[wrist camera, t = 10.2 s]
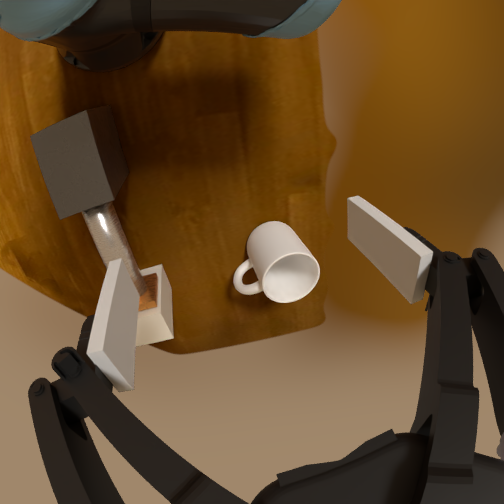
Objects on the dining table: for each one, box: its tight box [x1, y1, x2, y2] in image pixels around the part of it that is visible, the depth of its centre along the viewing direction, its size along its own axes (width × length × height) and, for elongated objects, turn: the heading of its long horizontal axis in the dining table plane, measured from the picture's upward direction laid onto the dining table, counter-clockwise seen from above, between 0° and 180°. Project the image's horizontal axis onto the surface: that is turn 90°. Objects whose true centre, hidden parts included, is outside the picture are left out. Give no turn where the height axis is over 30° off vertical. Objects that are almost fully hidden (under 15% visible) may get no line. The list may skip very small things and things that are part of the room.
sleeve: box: [30, 105, 129, 219], centre depth 30 cm, size 10×7×11 cm
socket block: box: [136, 264, 174, 347], centre depth 42 cm, size 5×7×12 cm
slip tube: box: [81, 201, 158, 311], centre depth 35 cm, size 20×6×6 cm, turn 10°
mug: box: [233, 221, 320, 303], centre depth 44 cm, size 12×8×10 cm
